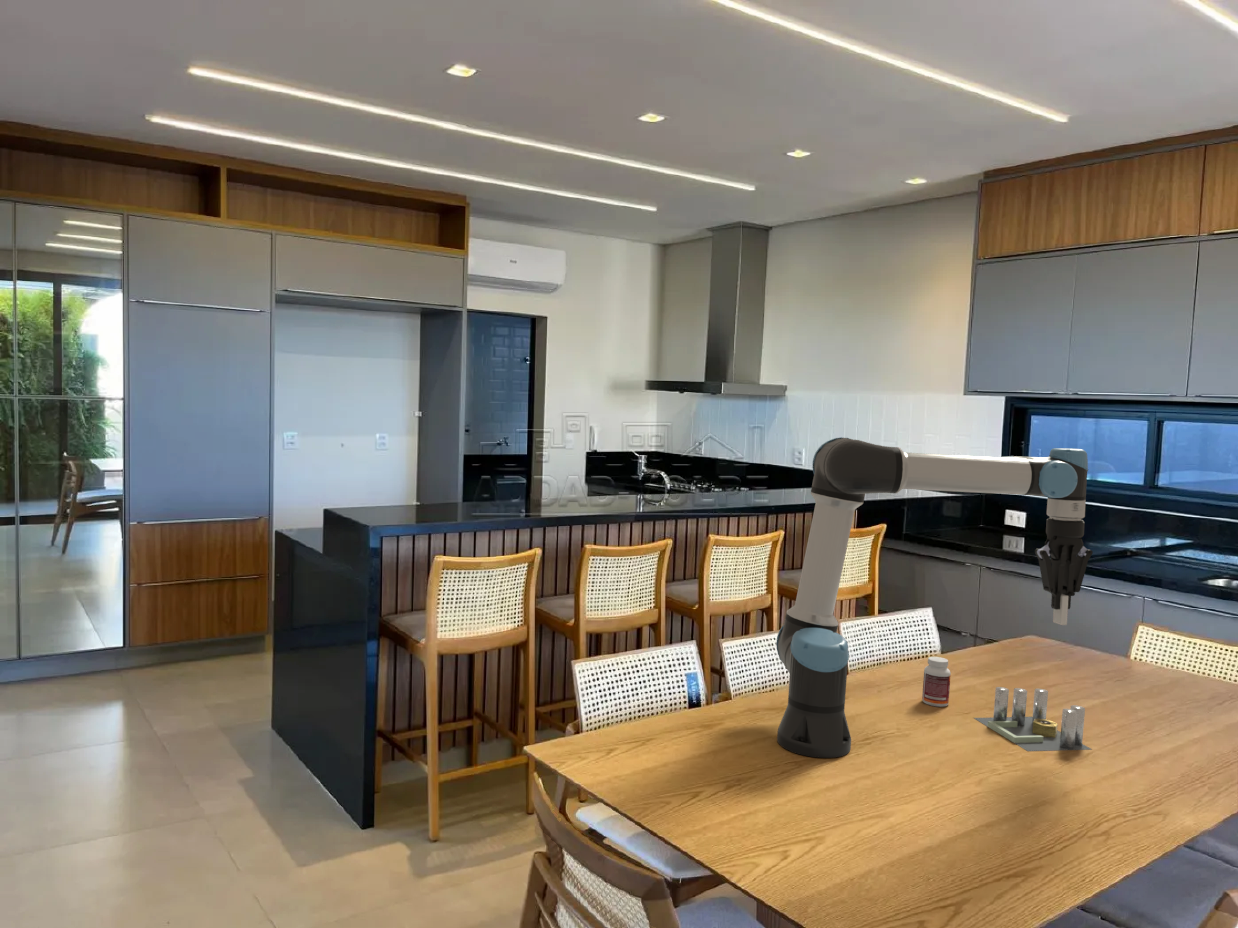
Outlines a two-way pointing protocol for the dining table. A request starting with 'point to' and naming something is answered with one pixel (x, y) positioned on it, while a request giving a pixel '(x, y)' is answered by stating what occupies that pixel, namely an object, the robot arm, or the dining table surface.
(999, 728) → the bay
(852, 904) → the dining table surface
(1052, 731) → the nut
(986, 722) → the mat
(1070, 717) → the spacer posts
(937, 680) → the pill bottle
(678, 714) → the dining table surface
